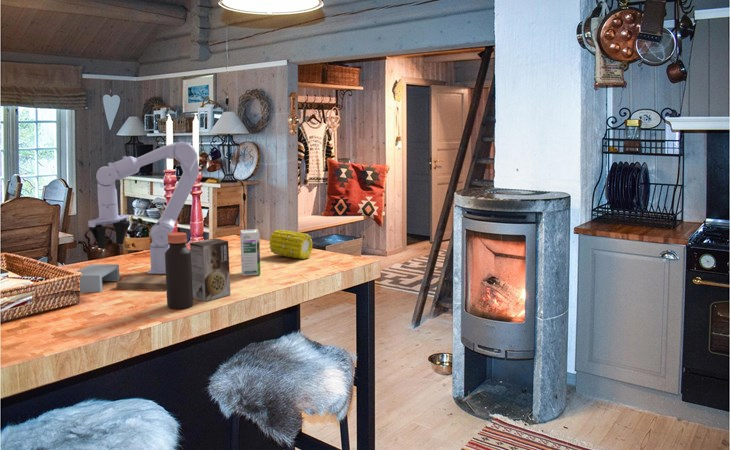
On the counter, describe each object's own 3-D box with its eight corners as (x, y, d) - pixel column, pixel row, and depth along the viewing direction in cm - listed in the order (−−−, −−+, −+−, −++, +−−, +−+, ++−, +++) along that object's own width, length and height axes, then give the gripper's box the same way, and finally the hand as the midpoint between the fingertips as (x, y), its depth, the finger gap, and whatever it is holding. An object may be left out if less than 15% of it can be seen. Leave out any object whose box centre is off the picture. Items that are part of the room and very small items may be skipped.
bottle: (162, 306, 177) (158, 234, 173) (183, 301, 182) (179, 230, 179) (177, 311, 172) (174, 237, 169) (198, 305, 178) (195, 233, 175)
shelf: (119, 279, 206) (118, 264, 205) (100, 292, 191) (99, 275, 190) (91, 279, 206) (90, 264, 205) (70, 291, 191) (68, 275, 191)
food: (317, 257, 240) (317, 230, 238) (295, 263, 231) (294, 235, 229) (288, 252, 249) (287, 226, 248) (265, 257, 240) (264, 230, 238)
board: (179, 285, 202) (178, 277, 201) (169, 291, 194) (169, 283, 193) (128, 283, 203) (128, 276, 202) (117, 290, 195) (117, 282, 194)
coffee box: (217, 291, 192) (215, 237, 190) (231, 295, 188) (229, 240, 186) (191, 297, 185) (189, 242, 183) (205, 301, 181) (203, 245, 179)
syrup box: (242, 276, 211) (241, 232, 209) (241, 272, 217) (240, 229, 214) (260, 275, 212) (259, 231, 210) (258, 271, 218) (257, 228, 216)
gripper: (117, 200, 216) (119, 241, 218) (80, 206, 203) (83, 248, 205) (132, 202, 213) (135, 242, 215) (96, 207, 200) (99, 250, 202)
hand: (111, 245), depth 210 cm, fingers open, 7 cm apart
